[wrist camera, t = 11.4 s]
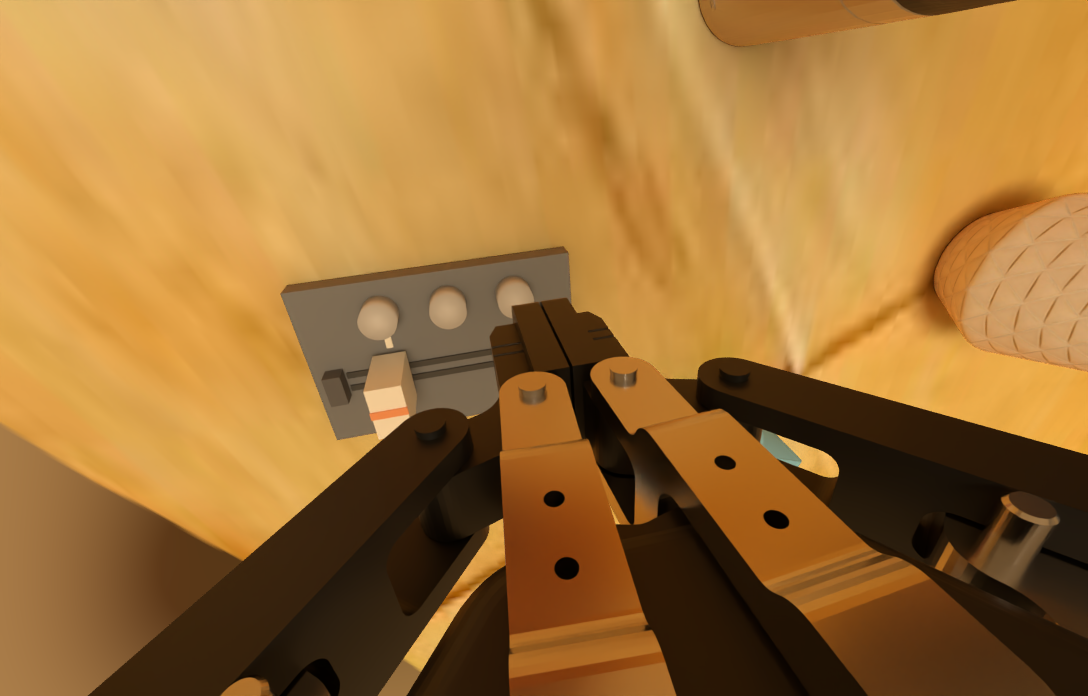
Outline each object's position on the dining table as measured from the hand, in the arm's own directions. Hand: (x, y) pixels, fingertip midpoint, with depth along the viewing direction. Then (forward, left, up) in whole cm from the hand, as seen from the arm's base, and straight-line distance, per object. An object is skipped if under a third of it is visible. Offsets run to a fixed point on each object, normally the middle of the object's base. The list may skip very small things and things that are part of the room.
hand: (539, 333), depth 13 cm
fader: (+10, +17, -28) cm, 35 cm away
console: (+5, +16, -31) cm, 35 cm away
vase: (-57, +16, -31) cm, 67 cm away
